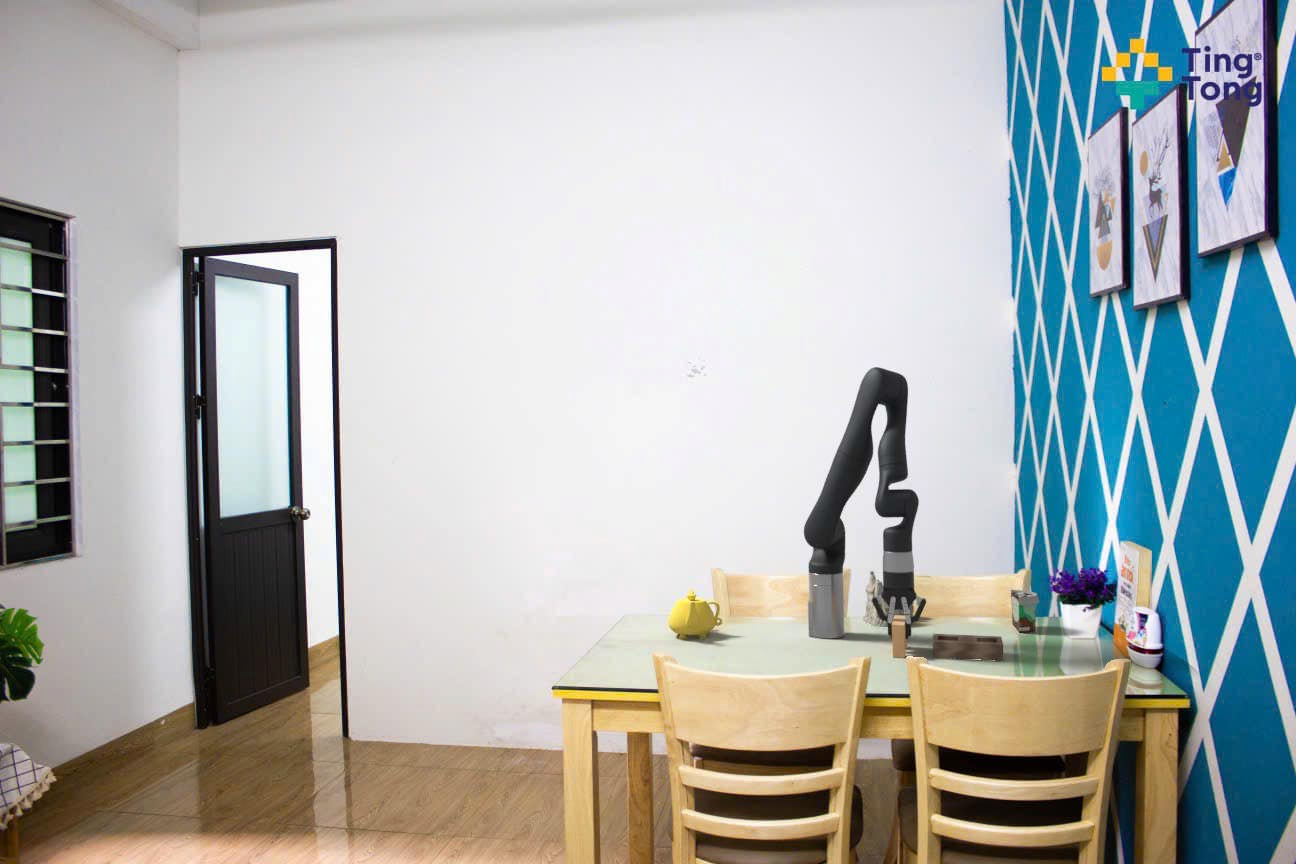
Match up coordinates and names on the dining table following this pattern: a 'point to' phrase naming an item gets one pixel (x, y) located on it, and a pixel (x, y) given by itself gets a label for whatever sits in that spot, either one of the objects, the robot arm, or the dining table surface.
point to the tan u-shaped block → (899, 636)
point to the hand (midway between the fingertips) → (899, 637)
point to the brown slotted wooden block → (968, 647)
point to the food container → (1024, 610)
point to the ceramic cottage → (871, 614)
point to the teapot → (693, 617)
